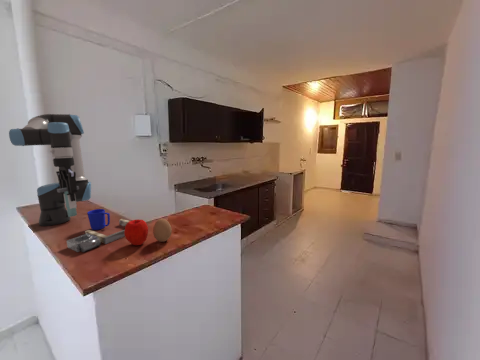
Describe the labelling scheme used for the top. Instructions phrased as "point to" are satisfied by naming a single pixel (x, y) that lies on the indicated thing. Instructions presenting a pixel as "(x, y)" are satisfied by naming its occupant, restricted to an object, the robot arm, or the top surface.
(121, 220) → the bay
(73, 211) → the crank peg
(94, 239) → the block
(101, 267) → the top surface
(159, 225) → the egg
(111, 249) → the top surface
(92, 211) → the mug
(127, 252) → the top surface
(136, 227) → the apple
